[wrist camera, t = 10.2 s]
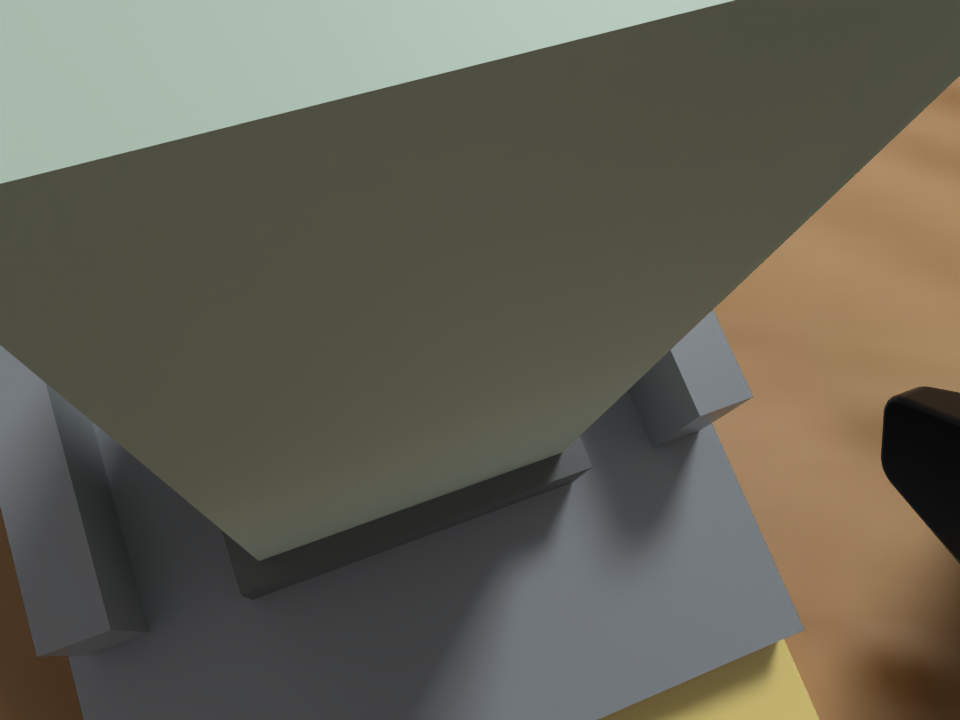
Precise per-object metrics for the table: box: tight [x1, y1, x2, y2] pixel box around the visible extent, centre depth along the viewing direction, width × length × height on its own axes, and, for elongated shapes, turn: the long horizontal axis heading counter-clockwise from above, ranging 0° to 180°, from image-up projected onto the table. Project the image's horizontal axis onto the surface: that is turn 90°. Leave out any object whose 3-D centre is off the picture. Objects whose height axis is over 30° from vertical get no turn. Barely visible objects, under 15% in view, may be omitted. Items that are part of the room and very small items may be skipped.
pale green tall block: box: [0, 0, 960, 600], centre depth 10 cm, size 6×6×14 cm
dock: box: [0, 310, 819, 720], centre depth 15 cm, size 17×12×6 cm
